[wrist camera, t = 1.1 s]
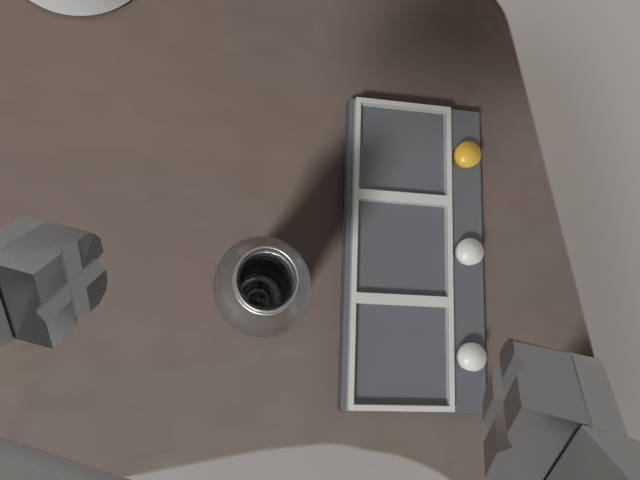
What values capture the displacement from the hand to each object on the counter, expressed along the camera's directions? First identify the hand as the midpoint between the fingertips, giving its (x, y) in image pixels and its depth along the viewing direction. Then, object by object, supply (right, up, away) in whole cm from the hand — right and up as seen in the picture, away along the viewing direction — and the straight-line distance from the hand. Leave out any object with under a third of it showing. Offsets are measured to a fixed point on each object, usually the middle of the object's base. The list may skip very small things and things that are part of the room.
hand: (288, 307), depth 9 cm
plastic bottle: (-5, -4, +36) cm, 37 cm away
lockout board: (+10, 0, +39) cm, 40 cm away
